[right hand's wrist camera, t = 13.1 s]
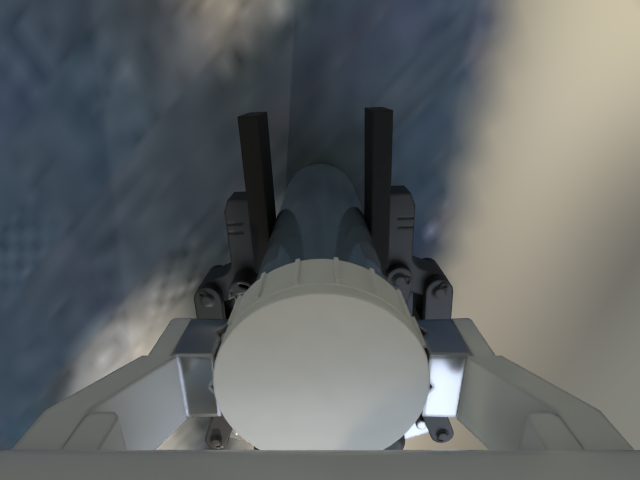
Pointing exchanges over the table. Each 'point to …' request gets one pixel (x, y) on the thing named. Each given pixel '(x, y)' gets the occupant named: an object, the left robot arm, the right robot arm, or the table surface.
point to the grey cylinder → (320, 222)
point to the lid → (321, 360)
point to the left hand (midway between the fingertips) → (315, 112)
